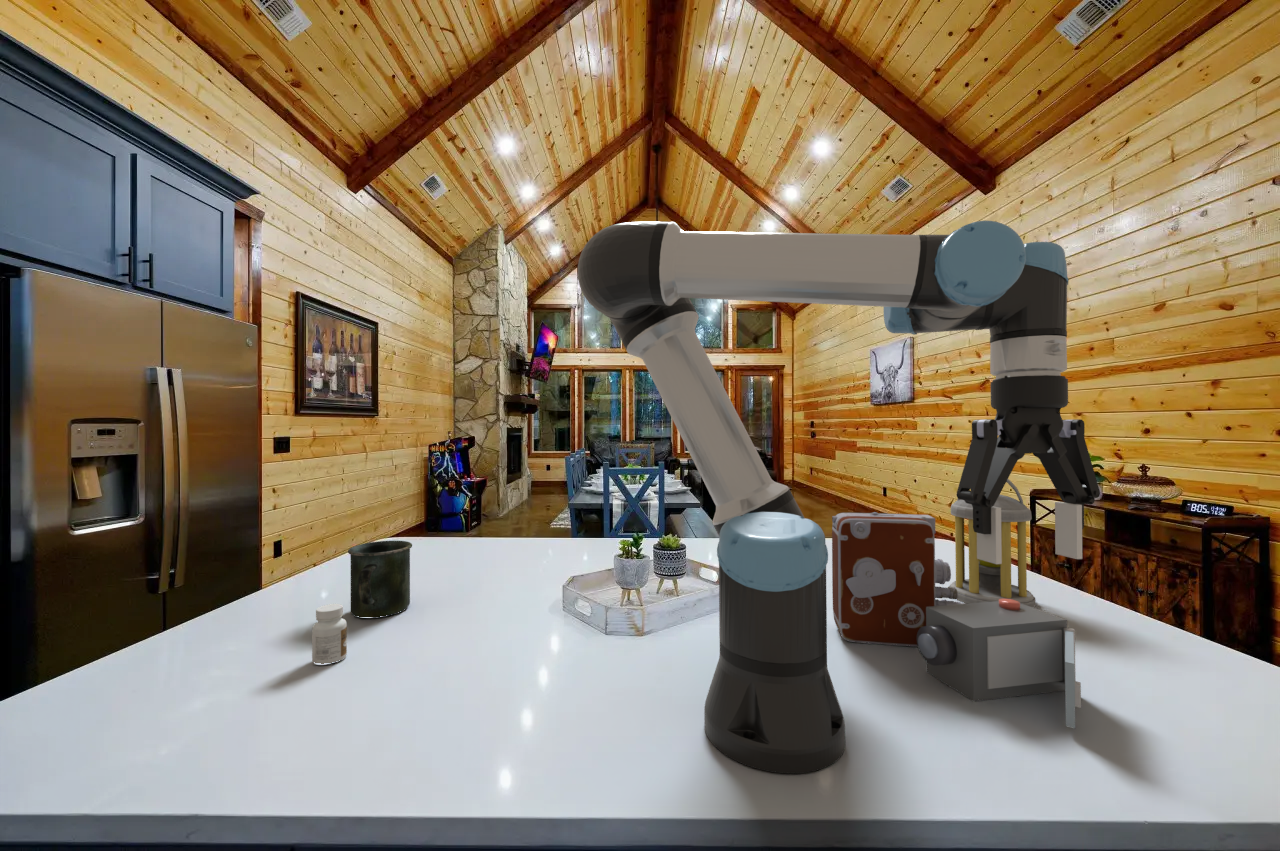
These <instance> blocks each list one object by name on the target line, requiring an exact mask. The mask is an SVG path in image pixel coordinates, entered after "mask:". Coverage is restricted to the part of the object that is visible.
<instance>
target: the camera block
mask: <svg viewBox="0 0 1280 851" xmlns="http://www.w3.org/2000/svg"><path fill="white" fill-rule="evenodd" d="M1064 628H1068V619H1067V618H1063V617H1060V616H1057V615H1054V614H1052V613H1050V612H1046V611H1043V610H1041V609H1038V608H1036V607H1034V608H1033V607H1030V606H1027V605H1024V604H1022V603H1020V602H1018V601H1016V600H1012V599H999V601H993V602H981V603H968V604H967V603H964V604H955V605H942V606H929V607H926V626H923V627H921V628H920V629H919V630H918V632H917V645H918V647H917V648H918V651H919V653H920V655H921V657H922V658H923V659H924V661H925V662H926V673H927V674H929V675H931V676H932V677H934V678H935V679H937V680H939V681H940V682H942V683H943V684H945V685H947V686H948V687H950V688H951V689H953V690H954V691H956V692H958V693H959V694H961V695H963V696H964V697H966V698H968V699H969V700H971V701H972V702H980V701H981V702H982V701H989V700H996V699H1004V698H1007V699H1008V698H1014V697H1023V696H1031V695H1039V694H1047V693H1049V694H1050V693H1054V692H1055V693H1056V692H1057V693H1058V692H1063V691H1064V692H1065V685H1064Z"/></svg>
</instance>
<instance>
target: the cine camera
mask: <svg viewBox="0 0 1280 851" xmlns="http://www.w3.org/2000/svg"><path fill="white" fill-rule="evenodd" d="M831 518H832V519H831V520H832V528H831V557H832V558H831V560H832V561H831V564H832V565H831V566H832V567H831V568H832V570H831V571H832V574H831V575H832V581H831V583H832V611H833V612H832V613H833V619H834V622H835V626H836V628H837V629H838V633H839V634H840V636H841V638H842V639H843V640H845V641H847V642H850V643H858V644H859V643H860V644H873V645H885V646H902V647H915V648H916V647H917V648H918V645H917V632H918V630H919V629H920V628H921V627H923V626H926V607H929V606H942V605H955V604H965V603H963V602H961V601H953V600H956V599H957V598H958V592H957V589H956V588H955V587H949V586H947V587H943V586H942V587H941V586H936V584H939V585H945V583H946V582H947V583H948V582H950V581H951V578H952V571H951V570H952V569H951V566H950V564H949V562H946V561H945V562H944V560H943V559H941V558H937V559H936V543H935V534H936V517H933V516H931V515H929V514H911V513H910V514H908V513H888V512H887V513H882V512H881V513H878V512H876V511H874V512H840V513H837V514H836V515H832V517H831ZM939 599H941V600H939ZM948 599H950V600H948Z"/></svg>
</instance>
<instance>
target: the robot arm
mask: <svg viewBox="0 0 1280 851" xmlns="http://www.w3.org/2000/svg"><path fill="white" fill-rule="evenodd" d="M1067 266H1068V265H1067V260H1066V252H1065V250H1064V248H1063V246H1061V245H1059V244H1058V243H1055V242H1051V241H1033V242H1031V241H1030V242H1026V243H1024V242H1023V240H1022V238H1021V236H1020V235H1019V234H1018V232H1016V231H1015V230H1014V229H1013V228H1012V227H1010V226H1008V225H1007V224H1005V223H1002V222H998V221H993V220H977V221H974V222H970V223H968V224H965V225H962V226H960V228H958V229H955V230H953V231H952V232H951V233H949V234H889V233H888V234H887V233H886V234H883V233H882V234H880V233H876V234H875V233H872V234H871V233H817V232H816V233H813V232H811V233H810V232H809V233H808V232H806V233H805V232H753V231H752V232H751V231H750V232H746V231H739V232H738V231H737V232H736V231H689V230H688V231H687V230H686V231H684V230H683V229H682V228H681V227H680V226H679V225H678V223H676V222H675V221H631V222H630V221H629V222H621V223H620V222H619V223H616V224H612V225H609V226H607V227H605V228H602V229H601V230H599V231H598V232H596V233H595V234H594V235H593V236H592V237H590V239H589V240H588V241H587V243H586V244H585V245H584V247H583V249H582V251H581V253H580V256H579V259H578V262H577V279H578V284H579V288H580V290H581V292H582V294H583V297H584V298H585V299H586V300H587V302H588V303H589V304H590V305H591V306H592V307H593V308H594V309H595V310H596V311H597V312H599V313H601V314H603V315H604V316H606V317H608V318H609V319H610V321H611V323H612V324H613V326H614V328H615V330H616V333H617V334H618V336H619V339H620V341H621V343H622V344H623V346H624V349H625V350H626V352H627V354H628V355H630V356H632V357H637V358H640V359H641V360H642V361H643V363H644V365H645V367H646V370H647V371H648V373H649V375H650V377H651V379H652V381H653V383H654V386H655V387H656V390H657V391H658V393H659V395H660V397H661V399H662V401H663V403H664V405H665V407H666V409H667V412H668V413H669V415H670V417H671V419H672V422H673V423H674V425H675V427H676V430H677V431H678V434H679V435H680V437H681V439H682V440H683V443H684V445H685V447H686V449H687V451H688V453H689V455H690V457H691V459H692V462H693V463H694V465H695V467H696V469H697V471H698V473H699V475H700V478H701V479H702V482H704V485H705V487H706V489H707V491H708V493H709V495H710V497H711V499H712V501H713V503H714V505H715V512H714V515H713V519H712V525H713V528H715V531H716V534H717V535H718V537H719V538H718V543H717V548H716V556H717V558H718V559H717V560H718V596H719V598H718V600H719V601H718V602H719V603H718V604H719V609H718V610H719V612H718V614H719V615H718V617H719V623H718V624H719V625H718V627H719V632H718V633H719V637H718V638H719V657H718V661H717V664H716V667H715V671H714V673H713V676H712V680H711V683H710V686H709V689H708V692H707V695H706V699H705V702H704V707H703V708H704V713H703V714H704V731H705V733H706V737H707V738H708V739H709V741H710V742H711V743H712V745H713V746H714V747H715V748H717V749H718V750H719V752H721V753H722V754H723V755H725V756H726V757H728V758H730V759H732V760H734V761H735V762H738V763H740V764H742V765H745V766H748V767H749V768H750V767H751V768H754V769H757V770H761V771H766V772H772V773H776V774H777V773H778V774H802V773H803V774H804V773H811V772H815V771H818V770H822V769H824V768H827V767H829V766H831V765H832V764H834V763H835V762H837V761H838V760H839V759H840V758H841V756H842V755H843V753H844V751H845V747H846V724H845V718H844V715H843V711H842V708H841V705H840V702H839V698H838V695H837V692H836V690H835V688H834V684H833V681H832V678H831V675H830V672H829V670H828V650H827V649H828V641H827V640H828V636H827V633H828V630H827V629H828V627H827V626H828V624H827V623H828V621H827V619H828V618H827V615H828V614H827V609H828V608H827V564H828V561H829V550H828V547H827V544H826V536H825V533H824V531H823V529H822V527H821V526H820V525H819V524H818V523H816V522H815V521H813V520H811V519H810V518H805V516H804V514H803V512H802V510H801V508H800V507H799V504H798V503H797V501H796V498H795V497H794V495H793V493H792V491H791V490H790V487H789V486H788V485H785V484H783V483H780V482H777V481H774V480H773V479H772V477H771V476H770V473H769V472H768V470H767V467H766V466H765V464H764V462H763V460H762V459H761V456H760V454H759V452H758V451H757V449H756V447H755V444H754V443H753V441H752V439H751V436H750V435H749V433H748V431H747V430H746V426H745V425H744V423H743V422H742V420H741V418H740V416H739V414H738V412H737V410H736V408H735V406H734V404H733V402H732V401H731V400H732V399H730V397H729V395H728V393H727V391H726V388H725V387H724V385H723V384H722V381H721V379H720V377H719V375H718V374H717V372H716V370H715V368H714V365H713V364H712V362H711V360H710V359H709V356H708V354H707V353H706V350H705V348H704V346H703V345H702V342H701V341H700V339H699V337H698V335H697V333H696V328H697V324H698V321H699V318H700V317H699V314H698V312H697V310H696V308H695V306H694V304H693V303H692V301H691V299H704V300H705V299H706V300H726V301H727V300H728V301H729V300H730V301H750V302H769V303H771V302H772V303H793V304H818V305H836V306H837V305H839V306H840V305H841V306H857V307H858V306H861V307H866V306H867V307H881V308H882V307H883V322H884V325H885V329H886V330H887V331H888V332H889V333H891V334H911V335H913V336H914V335H918V334H925V333H926V334H928V333H941V332H955V331H956V332H959V331H972V330H974V331H982V330H989V336H990V337H989V344H990V347H989V348H990V350H989V351H990V354H989V355H990V358H989V359H990V361H989V364H990V365H989V366H990V367H989V368H990V375H992V376H994V377H995V379H993V380H992V382H990V407H991V408H992V409H993V410H995V412H996V413H995V418H994V419H991V418H990V419H987V418H985V419H973V421H972V422H971V442H970V444H969V448H968V452H967V454H966V458H965V462H964V466H963V469H962V473H961V476H960V480H959V484H958V487H957V490H956V498H957V499H961V500H964V501H965V502H966V503H968V504H972V506H973V529H974V532H976V533H977V559H980V560H983V561H987V562H990V563H994V564H1002V547H1001V508H999V507H993V506H994V504H995V502H996V500H997V499H998V497H999V495H1001V492H1002V490H1003V489H1004V487H1005V486H1006V484H1007V482H1006V481H1007V479H1009V477H1010V476H1011V473H1012V472H1013V469H1014V467H1015V466H1016V464H1017V462H1018V460H1021V459H1023V458H1024V456H1025V455H1026V454H1027V455H1028V454H1032V455H1033V456H1034V457H1036V458H1038V460H1039V461H1040V463H1041V465H1042V467H1043V468H1044V470H1045V472H1046V474H1047V475H1048V478H1049V479H1050V481H1051V483H1052V484H1053V486H1054V489H1055V490H1056V492H1057V494H1058V496H1059V498H1060V499H1061V501H1054V528H1055V532H1054V538H1055V539H1054V541H1055V542H1054V545H1055V546H1054V547H1055V555H1058V556H1062V557H1067V558H1070V559H1075V560H1083V530H1084V526H1085V505H1088V506H1089V505H1090V506H1092V505H1094V503H1095V501H1096V500H1095V499H1098V498H1099V497H1100V495H1101V490H1100V486H1099V484H1098V481H1097V478H1096V473H1095V470H1094V466H1093V463H1092V459H1091V457H1090V452H1089V450H1088V446H1087V443H1086V438H1085V421H1084V420H1083V419H1081V418H1079V419H1063V417H1062V416H1061V409H1062V408H1065V407H1067V406H1068V405H1069V379H1068V378H1066V377H1067V376H1064V375H1061V374H1062V373H1063V372H1066V371H1067V370H1068V356H1067V355H1068V353H1067V352H1068V351H1067V350H1068V349H1067V348H1068V345H1067V341H1068V340H1067V337H1068V331H1067V326H1068V321H1067V320H1068V319H1067V317H1068V315H1067V314H1068V313H1067V312H1068V285H1069V278H1068V267H1067ZM985 494H986V495H985Z"/></svg>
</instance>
